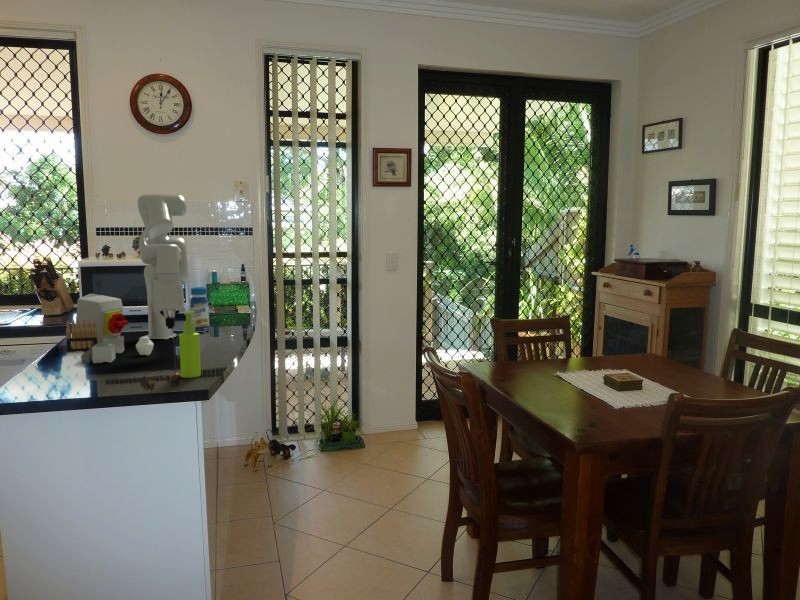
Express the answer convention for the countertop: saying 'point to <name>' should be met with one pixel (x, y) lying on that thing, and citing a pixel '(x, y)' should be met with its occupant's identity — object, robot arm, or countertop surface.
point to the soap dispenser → (189, 349)
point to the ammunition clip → (80, 336)
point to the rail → (104, 350)
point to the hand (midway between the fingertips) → (170, 328)
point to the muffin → (144, 346)
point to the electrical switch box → (101, 314)
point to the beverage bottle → (200, 308)
